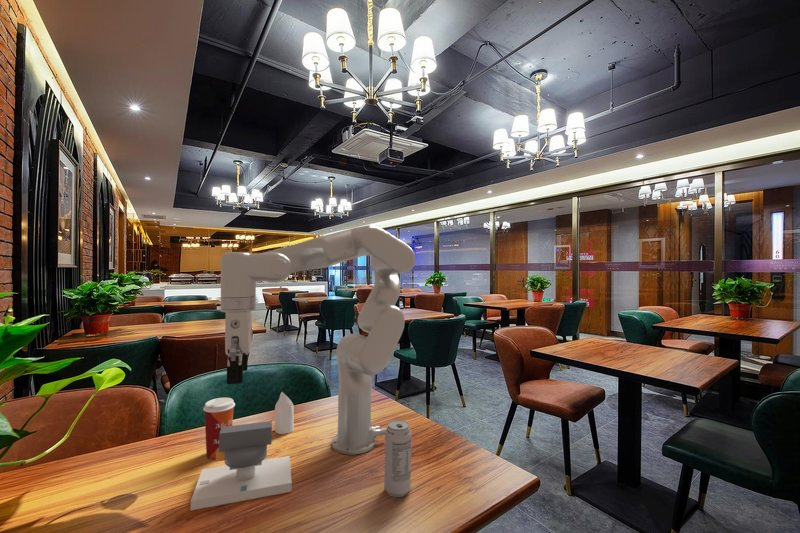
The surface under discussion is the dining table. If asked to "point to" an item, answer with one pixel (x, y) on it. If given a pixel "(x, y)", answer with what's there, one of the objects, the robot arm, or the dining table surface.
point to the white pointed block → (284, 415)
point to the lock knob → (244, 444)
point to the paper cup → (216, 422)
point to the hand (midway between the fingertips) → (237, 376)
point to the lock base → (242, 483)
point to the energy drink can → (397, 458)
